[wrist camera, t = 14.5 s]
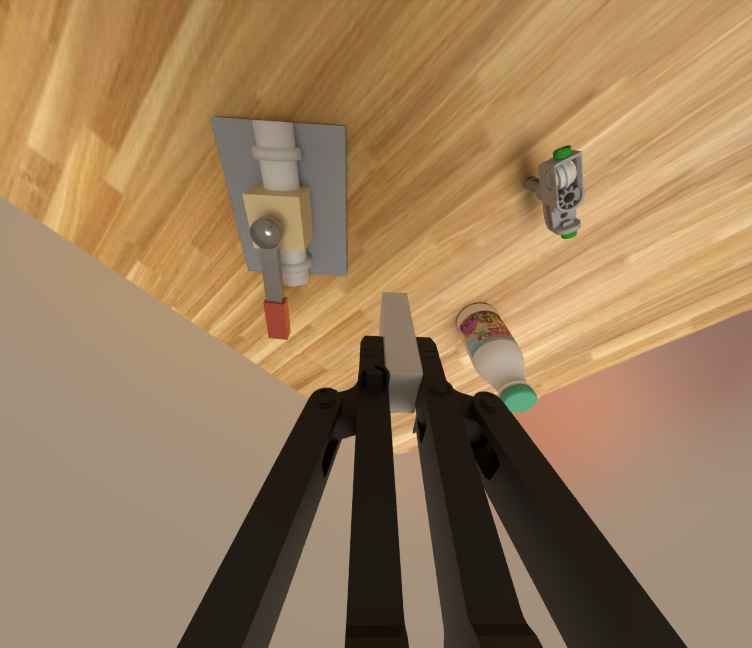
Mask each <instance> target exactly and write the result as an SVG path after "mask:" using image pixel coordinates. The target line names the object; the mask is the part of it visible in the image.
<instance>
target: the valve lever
mask: <svg viewBox="0 0 752 648" xmlns="http://www.w3.org/2000/svg"><path fill="white" fill-rule="evenodd" d="M284 234H285V231H284V227H283V225H282V223H281V222H280V221H279V220H278V219H277V218H276V217H274V216H271V215H263V216H261V217H260V218H259V219H257V220H256V221H255V222H254V223H253V224H252V225H251V227H250V236H251V238H252V240H253V242H254V243H255V244H256V245H258V246H259V252H260V259H261V266H262V273H263V280H264V287H265V294H266V299H265V301H264V310H265V316H266V323H267V329H268V336H269V338H273V339H285V340H287V339H288V337H289V334H290V321H289V309H288V298H287V297H284V286H283V276H282V265H281V255H280V244H279V243H280V241H281V240H282V239H283V237H284Z"/></svg>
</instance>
